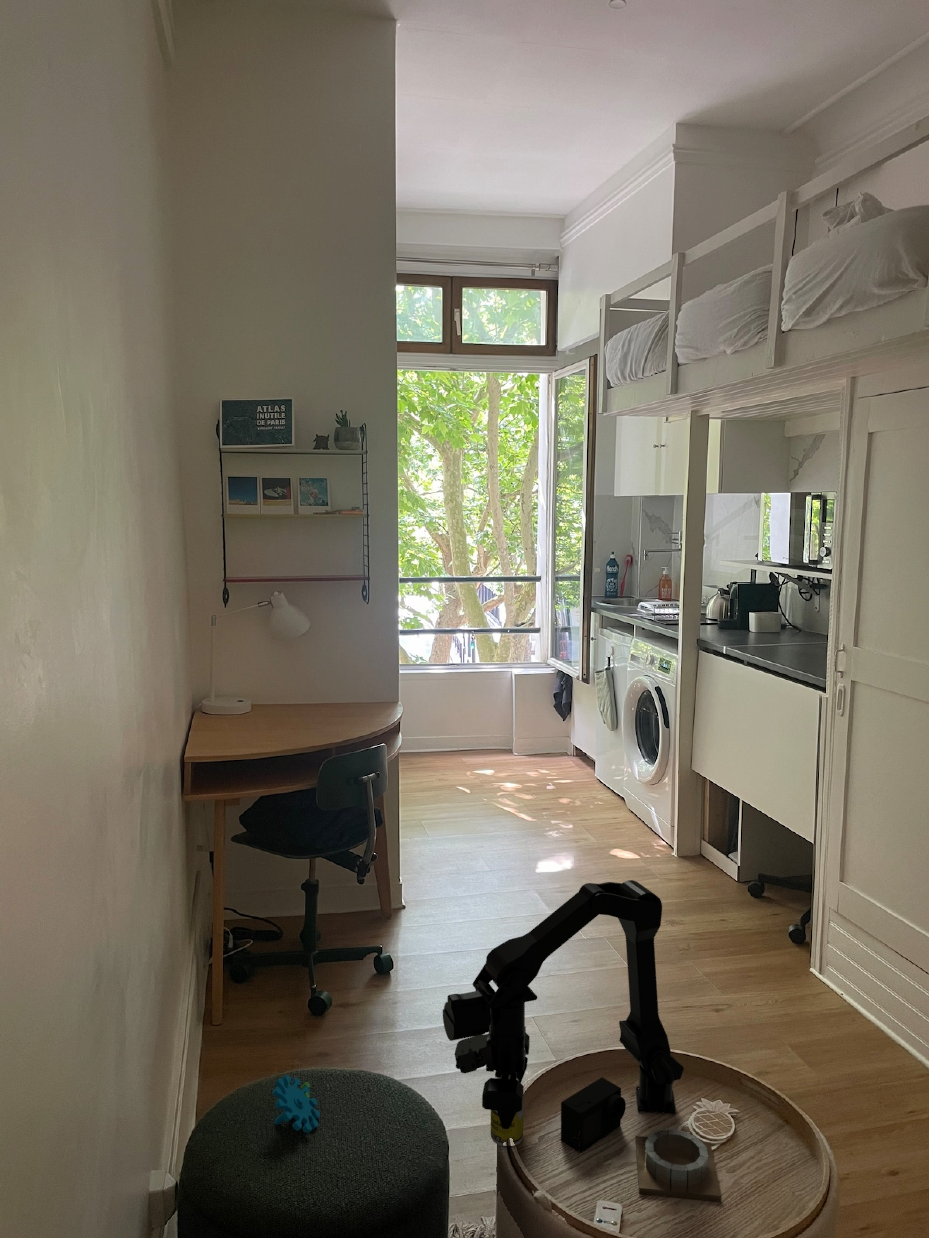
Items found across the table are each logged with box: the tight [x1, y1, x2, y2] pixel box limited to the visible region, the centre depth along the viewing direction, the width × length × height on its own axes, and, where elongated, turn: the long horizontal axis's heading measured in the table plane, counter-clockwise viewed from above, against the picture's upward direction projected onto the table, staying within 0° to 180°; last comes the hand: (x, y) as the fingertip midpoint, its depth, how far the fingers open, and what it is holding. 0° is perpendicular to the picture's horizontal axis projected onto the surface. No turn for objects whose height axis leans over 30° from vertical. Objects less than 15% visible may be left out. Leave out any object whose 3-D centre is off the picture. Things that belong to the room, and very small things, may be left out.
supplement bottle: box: [490, 1075, 524, 1147], centre depth 148 cm, size 5×5×10 cm
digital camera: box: [560, 1077, 627, 1154], centre depth 149 cm, size 10×5×7 cm, turn 131°
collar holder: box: [634, 1128, 722, 1203], centre depth 141 cm, size 12×12×4 cm
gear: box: [272, 1074, 321, 1134], centre depth 153 cm, size 11×6×10 cm
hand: (507, 1116), depth 149 cm, fingers closed on supplement bottle, 5 cm apart
